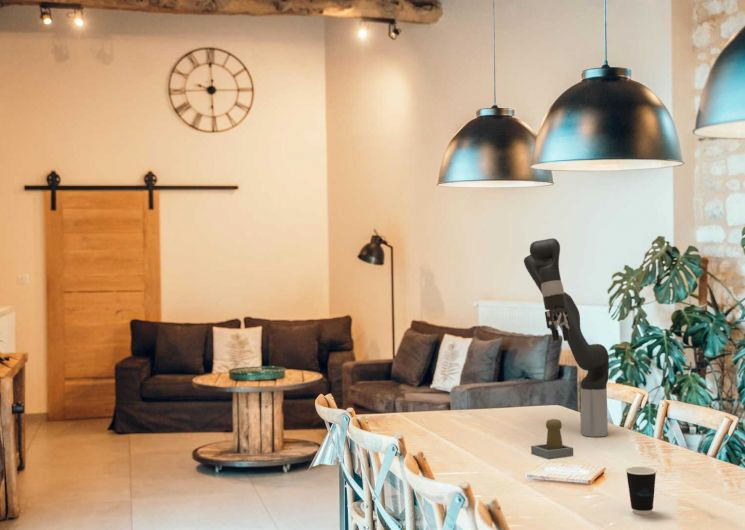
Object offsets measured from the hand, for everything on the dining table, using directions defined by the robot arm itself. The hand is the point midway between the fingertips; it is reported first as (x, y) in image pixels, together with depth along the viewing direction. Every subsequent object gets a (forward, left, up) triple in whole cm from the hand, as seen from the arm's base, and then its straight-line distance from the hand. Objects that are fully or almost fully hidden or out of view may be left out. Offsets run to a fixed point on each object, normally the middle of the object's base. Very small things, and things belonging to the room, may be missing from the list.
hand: (561, 340), depth 332 cm
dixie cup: (+78, -30, -37) cm, 92 cm away
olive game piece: (+9, -10, -36) cm, 39 cm away
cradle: (+8, -11, -37) cm, 39 cm away
